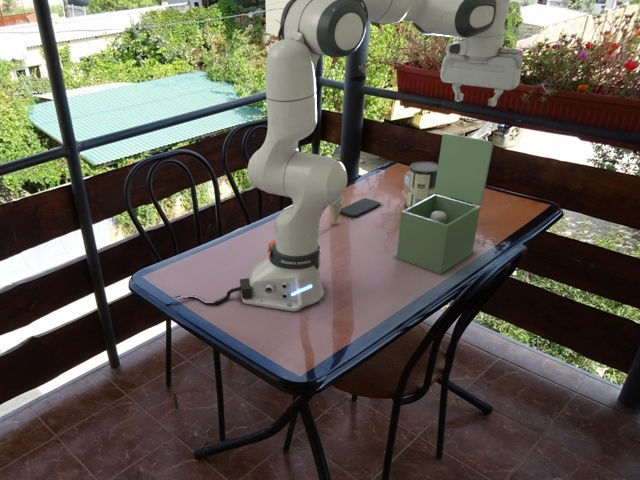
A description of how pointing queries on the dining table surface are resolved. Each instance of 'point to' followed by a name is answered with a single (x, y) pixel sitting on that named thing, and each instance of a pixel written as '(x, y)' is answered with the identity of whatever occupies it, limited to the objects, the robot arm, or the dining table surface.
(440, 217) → the salt shaker
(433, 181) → the coffee can
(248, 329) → the dining table surface
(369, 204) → the phone
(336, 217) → the ice cream cone
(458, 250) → the box
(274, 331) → the dining table surface
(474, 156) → the lid
